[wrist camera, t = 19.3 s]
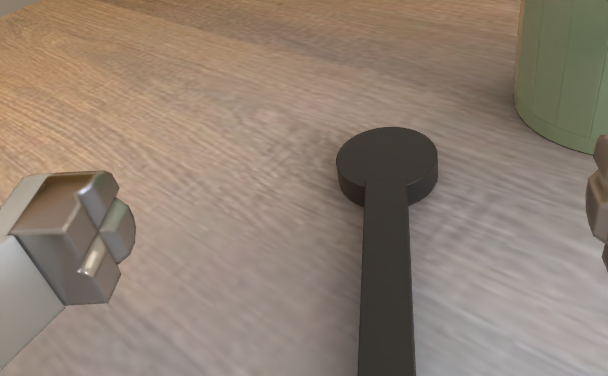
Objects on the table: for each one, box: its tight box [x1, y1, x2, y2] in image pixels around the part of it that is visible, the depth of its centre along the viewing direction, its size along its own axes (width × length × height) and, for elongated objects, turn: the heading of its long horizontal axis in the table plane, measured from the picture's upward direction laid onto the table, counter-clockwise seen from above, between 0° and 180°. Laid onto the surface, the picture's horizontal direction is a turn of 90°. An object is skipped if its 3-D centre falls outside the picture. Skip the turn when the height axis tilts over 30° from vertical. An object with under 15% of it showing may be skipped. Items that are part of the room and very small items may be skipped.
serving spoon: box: [336, 127, 438, 376], centre depth 22 cm, size 26×5×2 cm, turn 174°
